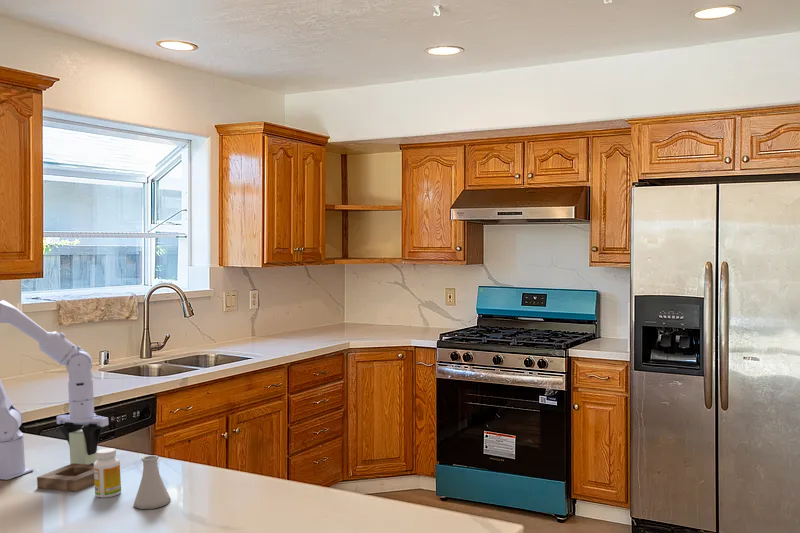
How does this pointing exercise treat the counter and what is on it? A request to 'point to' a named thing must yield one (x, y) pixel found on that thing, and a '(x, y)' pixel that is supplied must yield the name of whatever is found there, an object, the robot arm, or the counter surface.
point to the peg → (80, 449)
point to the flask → (151, 486)
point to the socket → (68, 478)
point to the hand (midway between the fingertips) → (83, 453)
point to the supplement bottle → (107, 473)
